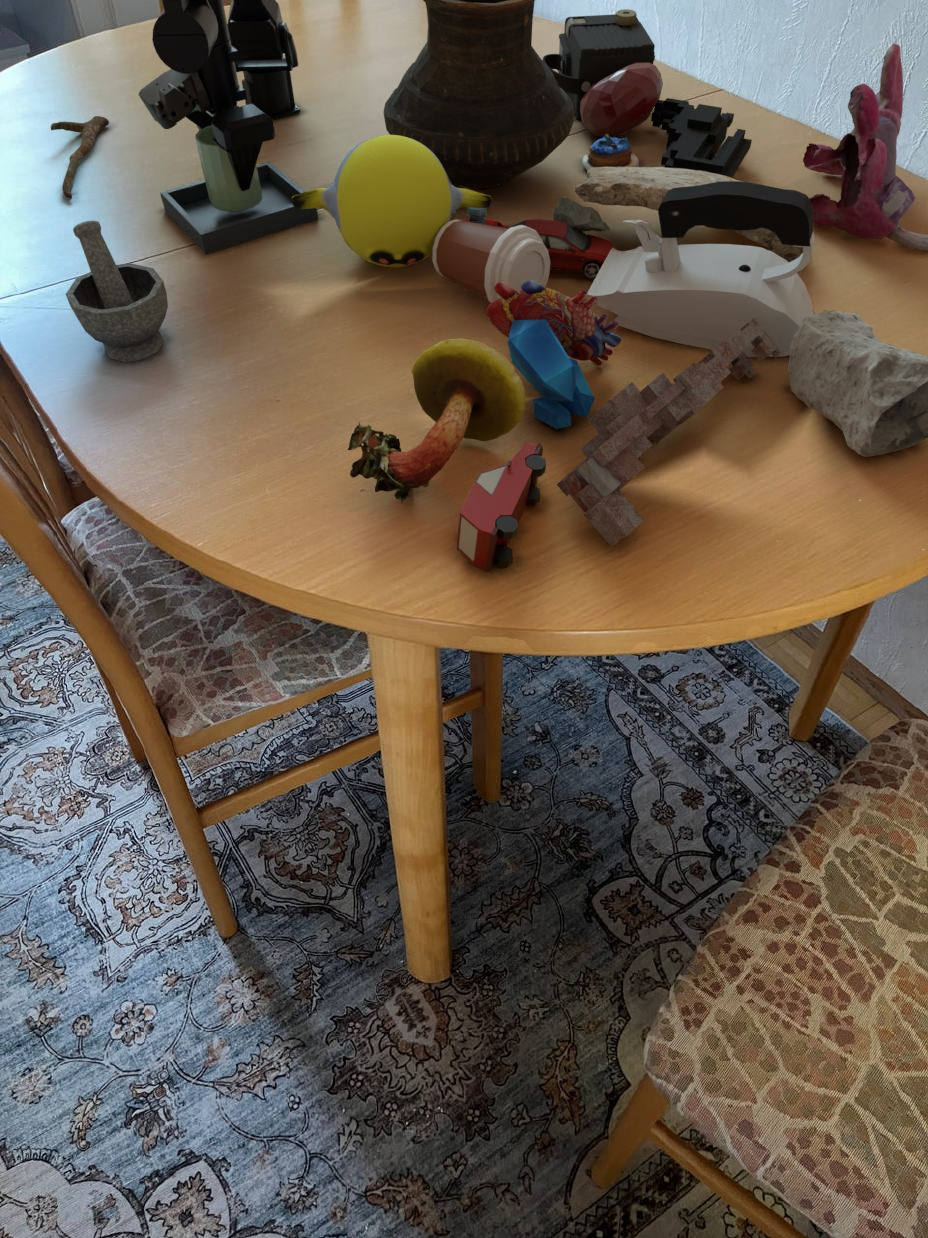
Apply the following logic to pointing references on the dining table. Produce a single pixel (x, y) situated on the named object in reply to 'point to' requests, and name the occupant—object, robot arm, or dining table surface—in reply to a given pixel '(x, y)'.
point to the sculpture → (650, 429)
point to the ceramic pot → (481, 93)
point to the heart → (621, 100)
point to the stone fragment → (662, 195)
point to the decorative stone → (860, 382)
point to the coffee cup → (490, 256)
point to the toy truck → (499, 508)
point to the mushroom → (444, 414)
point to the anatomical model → (556, 318)
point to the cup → (224, 176)
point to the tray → (241, 226)
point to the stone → (579, 216)
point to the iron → (712, 268)
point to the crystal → (549, 373)
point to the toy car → (569, 246)
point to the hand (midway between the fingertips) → (233, 179)
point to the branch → (88, 137)
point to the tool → (699, 137)
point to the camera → (597, 51)
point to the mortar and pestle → (117, 300)
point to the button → (479, 216)
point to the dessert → (610, 154)
